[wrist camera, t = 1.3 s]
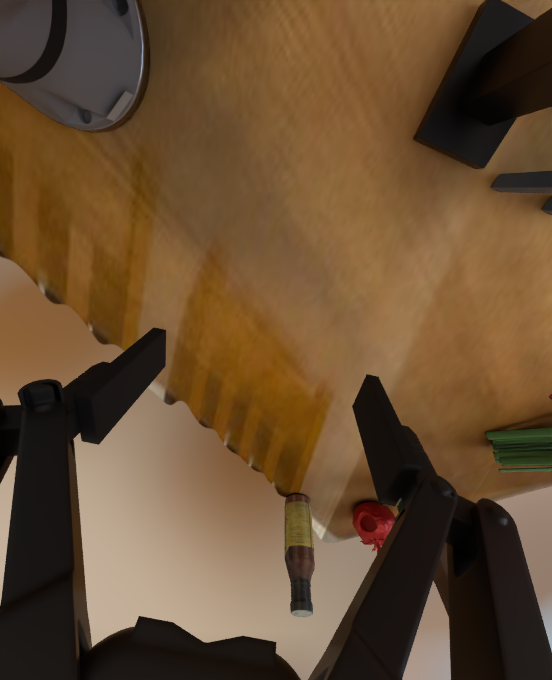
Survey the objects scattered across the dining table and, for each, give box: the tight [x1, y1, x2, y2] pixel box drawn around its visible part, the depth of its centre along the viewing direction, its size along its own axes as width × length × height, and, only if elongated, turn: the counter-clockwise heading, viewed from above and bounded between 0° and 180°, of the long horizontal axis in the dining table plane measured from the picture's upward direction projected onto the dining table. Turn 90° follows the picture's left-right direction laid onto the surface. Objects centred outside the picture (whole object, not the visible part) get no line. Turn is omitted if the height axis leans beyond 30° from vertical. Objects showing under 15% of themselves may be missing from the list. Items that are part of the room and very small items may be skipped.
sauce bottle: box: [285, 494, 315, 617], centre depth 56 cm, size 7×6×20 cm
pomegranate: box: [353, 502, 395, 554], centre depth 60 cm, size 10×10×9 cm
